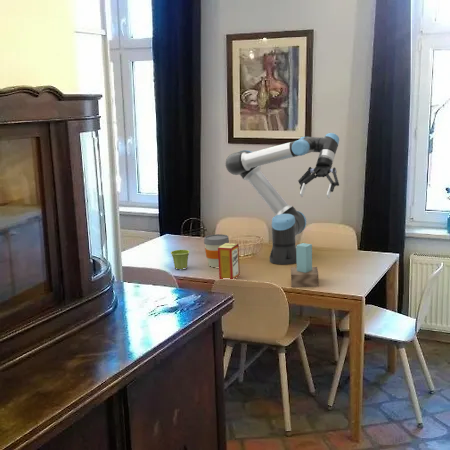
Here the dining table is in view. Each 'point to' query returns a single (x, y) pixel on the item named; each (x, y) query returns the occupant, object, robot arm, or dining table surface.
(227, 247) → the baking soda box
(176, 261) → the plant pot
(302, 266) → the teal wooden block
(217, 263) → the reusable coffee cup
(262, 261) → the dining table surface
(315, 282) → the walnut block
